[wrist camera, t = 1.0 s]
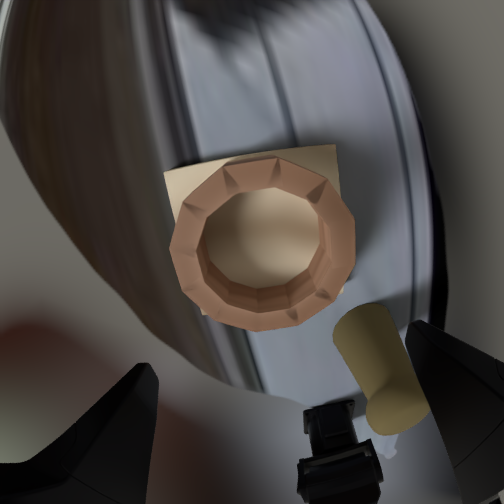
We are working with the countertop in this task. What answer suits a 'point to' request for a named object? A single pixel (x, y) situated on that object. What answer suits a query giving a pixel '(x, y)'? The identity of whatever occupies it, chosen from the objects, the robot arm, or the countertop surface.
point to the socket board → (262, 235)
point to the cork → (381, 369)
